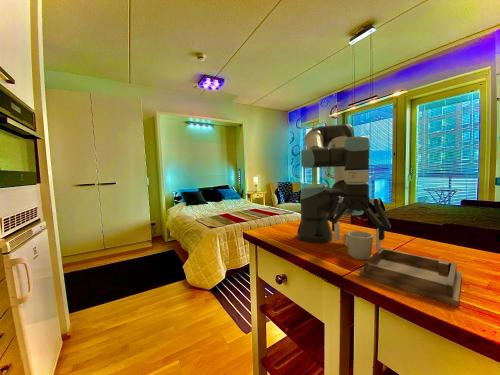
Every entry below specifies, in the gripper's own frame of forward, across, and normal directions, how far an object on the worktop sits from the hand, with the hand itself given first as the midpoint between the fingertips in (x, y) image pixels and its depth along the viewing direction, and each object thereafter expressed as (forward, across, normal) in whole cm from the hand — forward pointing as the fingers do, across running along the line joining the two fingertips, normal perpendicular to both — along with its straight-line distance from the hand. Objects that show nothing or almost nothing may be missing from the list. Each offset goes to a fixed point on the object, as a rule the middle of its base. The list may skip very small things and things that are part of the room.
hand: (356, 244), depth 74 cm
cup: (+4, 0, 0) cm, 4 cm away
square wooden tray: (+4, +16, -5) cm, 17 cm away
